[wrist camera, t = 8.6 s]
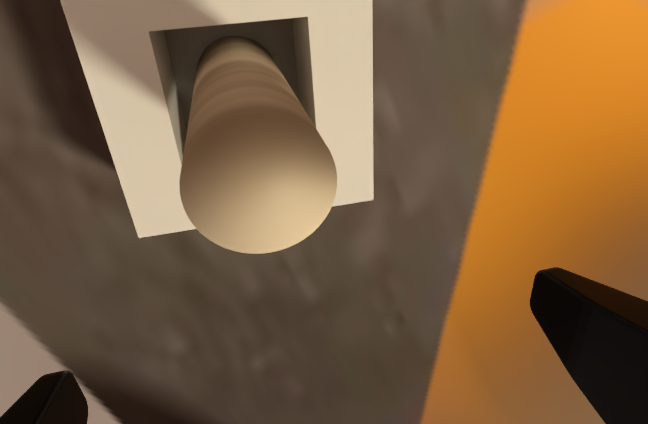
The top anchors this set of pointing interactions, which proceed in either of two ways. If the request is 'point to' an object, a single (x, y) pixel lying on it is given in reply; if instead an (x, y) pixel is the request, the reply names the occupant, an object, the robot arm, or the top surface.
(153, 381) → the top surface
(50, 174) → the top surface
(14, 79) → the top surface
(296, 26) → the socket
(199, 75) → the dowel
